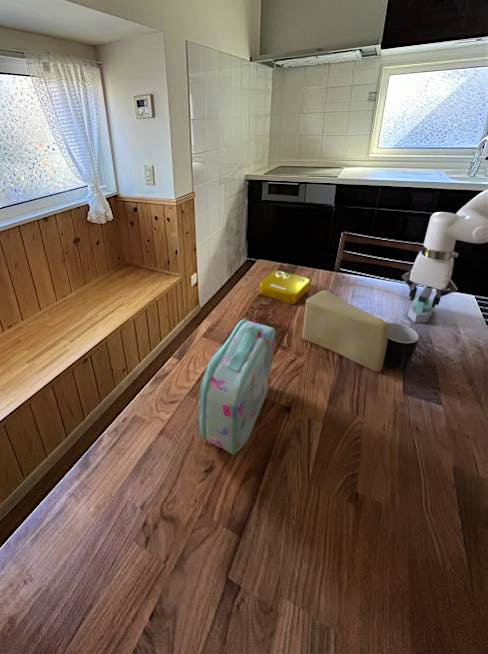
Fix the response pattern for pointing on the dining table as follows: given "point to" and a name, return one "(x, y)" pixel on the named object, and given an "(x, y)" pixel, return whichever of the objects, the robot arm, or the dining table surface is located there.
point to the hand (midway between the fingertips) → (423, 301)
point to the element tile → (284, 287)
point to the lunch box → (236, 386)
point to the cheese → (345, 330)
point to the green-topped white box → (421, 307)
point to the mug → (400, 346)
